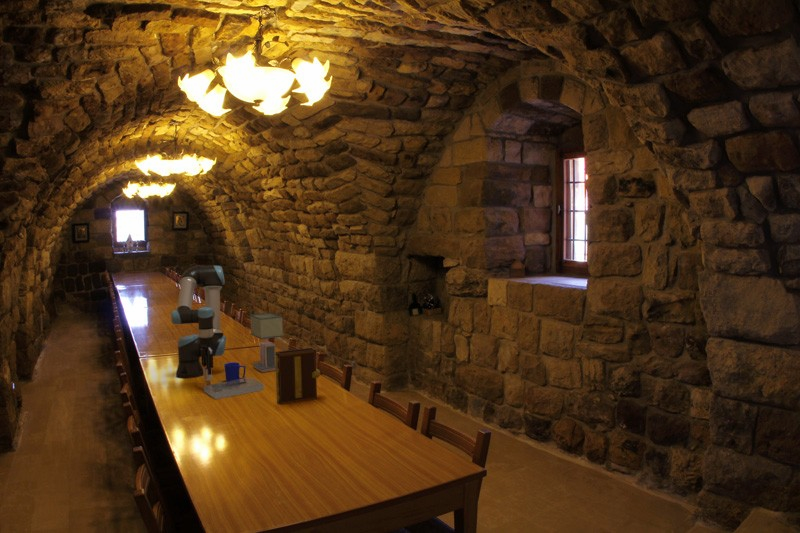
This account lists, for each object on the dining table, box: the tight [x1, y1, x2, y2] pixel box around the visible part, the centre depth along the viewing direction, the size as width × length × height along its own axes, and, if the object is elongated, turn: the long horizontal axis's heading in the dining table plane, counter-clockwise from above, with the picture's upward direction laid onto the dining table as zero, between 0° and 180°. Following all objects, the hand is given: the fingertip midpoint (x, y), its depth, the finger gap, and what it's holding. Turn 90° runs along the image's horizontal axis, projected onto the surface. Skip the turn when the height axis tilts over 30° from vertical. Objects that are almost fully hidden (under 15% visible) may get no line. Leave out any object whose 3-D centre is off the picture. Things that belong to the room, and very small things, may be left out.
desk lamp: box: [249, 312, 284, 373], centre depth 361 cm, size 18×14×33 cm
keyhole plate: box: [203, 376, 265, 400], centre depth 315 cm, size 26×17×3 cm, turn 128°
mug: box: [224, 361, 247, 382], centre depth 333 cm, size 8×12×10 cm
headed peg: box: [203, 366, 212, 390], centre depth 319 cm, size 5×5×12 cm
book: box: [275, 347, 321, 405], centre depth 296 cm, size 22×8×25 cm, turn 117°
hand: (208, 379), depth 319 cm, fingers closed on headed peg, 3 cm apart
